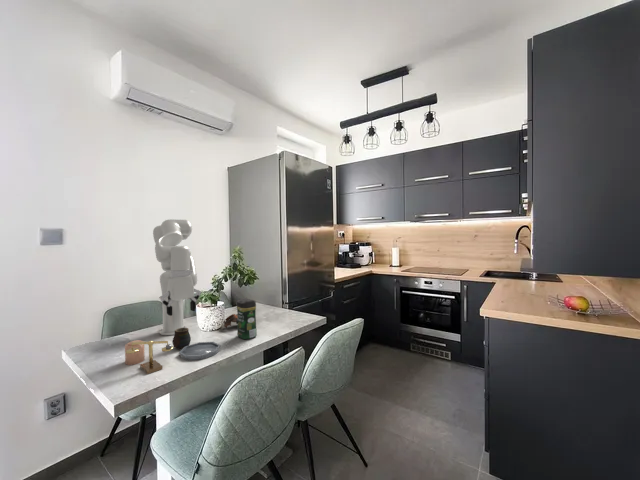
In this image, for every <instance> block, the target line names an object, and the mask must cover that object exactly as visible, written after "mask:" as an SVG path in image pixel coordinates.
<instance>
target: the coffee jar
mask: <svg viewBox="0 0 640 480" xmlns="http://www.w3.org/2000/svg"><path fill="white" fill-rule="evenodd" d="M236 310H237V311H236V312H237V320H238V324H237V328H236V329H237V331H236V332H237V336H238V337H239V338H240V339H242V340H251V339H254V338H255V337H257V335H258V334H257V333H258V332H257V316H256V314H257V311H256V310H257V302H256V300H254V299H251V298H248V297H243V298H239V299H237V300H236Z"/></svg>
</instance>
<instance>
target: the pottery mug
mask: <svg viewBox="0 0 640 480" xmlns="http://www.w3.org/2000/svg"><path fill="white" fill-rule="evenodd" d="M232 323H236V325H238V320H237V314H236V313H233V314H230V315H228V316H227V317H226V318H225V319H224V320H223V324H224V325H223V326H224V327H225V329H227V328H228V327H229V326H231V327H232Z"/></svg>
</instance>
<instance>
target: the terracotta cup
mask: <svg viewBox="0 0 640 480" xmlns="http://www.w3.org/2000/svg"><path fill="white" fill-rule="evenodd" d="M132 342H145V341H144V340H140V339H136V340H131V341H129V342H128V343H126V344H124V359H125V360H124V363H125V365H126V366H131V365H132V366H133V365H137V364H142V362H143V363H144V361H145V359H146V358H145V357H146V354H145V344H136V345H133V348H139V351H138V352H136V353H132V354H126V350H128V349H131V348H132Z"/></svg>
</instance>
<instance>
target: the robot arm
mask: <svg viewBox="0 0 640 480" xmlns="http://www.w3.org/2000/svg"><path fill="white" fill-rule="evenodd" d="M192 227H193V226H192V223H191V222H190V221H189V220H187V219H173V218H172V219H170V218H169V219H165V220H164V221H163V222H162V223H161V224H160V225H156V226H155V227H154V228H153V230H152V234H153V235H152V236H153V240H154V243H155V245H154V253H155V258H156V260H157V261H158V262H159V263H160V264H161V268H162V271H164V272H162V273H161V275H160V276H159V283H160V290H161V296H159V298H158V299H159V300H160V301H161V305H162V307H161V308H162V329H160V330H159V335H161V336H174V335H175V330H176V329H178V328H183V327H185V328H188V327H187V326H186V325H184V300H185V301H186V300H190V302H189V305H190V306H189V307H190V309H189V310H190V311H192V312H195V311H196V306H197V303H196V302H197V301H198V299H199V298H200V296H201V293H202V291H201V290H199V289H196V288H194V287H196V285H197V284H198V275H197V274H198V273H197V270H196V264H195V260H194V257H193V256H192V252H191V251H192V250H191V249H190V247H189V246H187V245H179V244H181V243H182V241H183V240H187V239H188V238H189V237H190V236H191V234H192V230H193V228H192ZM195 293H196V294H195Z"/></svg>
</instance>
